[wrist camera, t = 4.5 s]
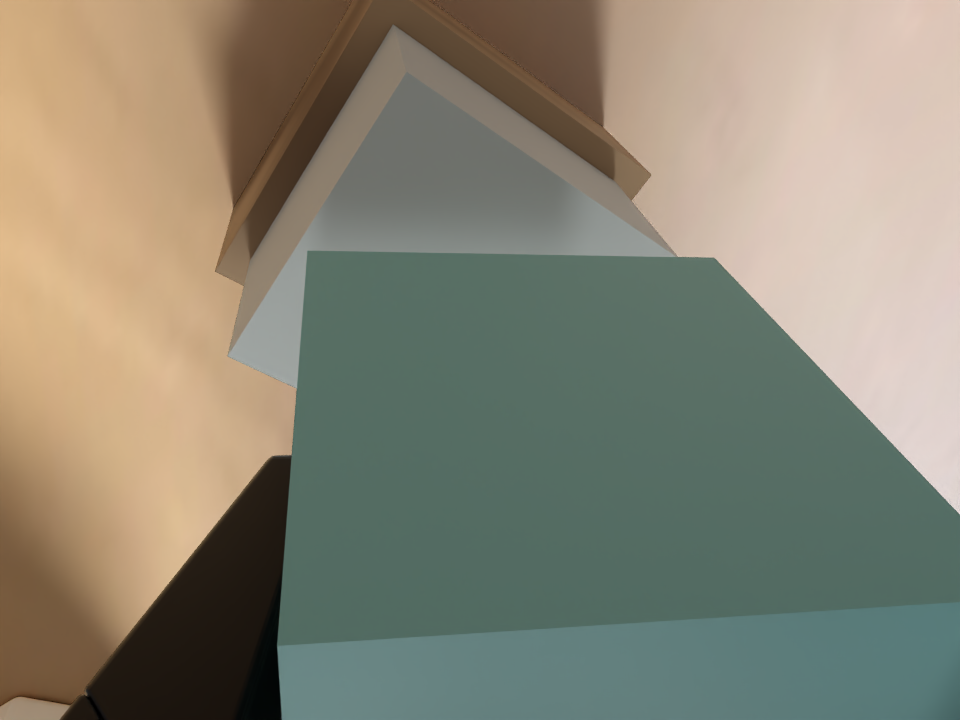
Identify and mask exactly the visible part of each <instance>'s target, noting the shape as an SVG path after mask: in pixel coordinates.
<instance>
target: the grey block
mask: <svg viewBox="0 0 960 720" xmlns="http://www.w3.org/2000/svg"><path fill="white" fill-rule="evenodd" d="M307 251H362V252H418V253H474V254H530V255H587V256H643V257H678V256H677V255H676V254H675V253H674V252H673V250H672V249H671V248H670V247H669V246H668V244H667V243H666V242H665V241H664V240H663V238H662V237H661V236H660V235H659V234H658V232H657V231H656V230H655V229H654V228H653V226H652V225H651V224H650V223H649V222H648V220H647V219H646V218H645V217H644V216H643V214H642V213H641V212H640V211H639V210H638V208H637V207H636V206H635V205H634V203H633V202H632V201H631V200H630V199H629V197H628V196H627V195H626V194H625V193H624V191H623V190H622V189H621V188H620V187H619V185H618V184H617V183H616V182H615V181H613V180H612V179H611V178H609V177H608V176H606V175H605V174H604V173H602V172H601V171H599V170H598V169H596V168H595V167H594V166H592V165H591V164H589V163H588V162H587V161H585V160H584V159H582V158H581V157H580V156H578V155H577V154H575V153H574V152H573V151H571V150H570V149H568V148H567V147H565V146H564V145H563V144H561V143H560V142H558V141H557V140H556V139H554V138H553V137H551V136H550V135H549V134H547V133H546V132H544V131H543V130H541V129H540V128H539V127H537V126H536V125H534V124H533V123H532V122H530V121H529V120H527V119H526V118H525V117H523V116H522V115H520V114H519V113H518V112H516V111H515V110H513V109H512V108H510V107H509V106H508V105H506V104H505V103H503V102H502V101H501V100H499V99H498V98H496V97H495V96H494V95H492V94H491V93H489V92H488V91H486V90H485V89H484V88H482V87H481V86H479V85H478V84H477V83H475V82H474V81H472V80H471V79H470V78H468V77H467V76H465V75H464V74H463V73H461V72H460V71H458V70H457V69H455V68H454V67H453V66H451V65H450V64H448V63H447V62H446V61H444V60H443V59H441V58H440V57H439V56H437V55H436V54H434V53H433V52H431V51H430V50H429V49H427V48H426V47H424V46H423V45H422V44H420V43H419V42H417V41H416V40H415V39H413V38H412V37H410V36H409V35H407V34H406V33H405V32H403V31H402V30H400V29H399V28H398V27H396V26H395V25H392V27H391V29H390V30H389V32H388V34H387V35H386V37H385V39H384V40H383V42H382V44H381V45H380V47H379V49H378V50H377V52H376V53H375V55H374V57H373V58H372V60H371V62H370V63H369V65H368V67H367V68H366V70H365V72H364V73H363V75H362V76H361V78H360V80H359V81H358V83H357V85H356V86H355V88H354V90H353V91H352V93H351V95H350V96H349V98H348V100H347V101H346V103H345V104H344V106H343V108H342V109H341V111H340V113H339V114H338V116H337V118H336V119H335V121H334V123H333V124H332V126H331V127H330V129H329V131H328V132H327V134H326V136H325V137H324V139H323V141H322V142H321V144H320V146H319V147H318V149H317V151H316V152H315V154H314V156H313V157H312V159H311V160H310V162H309V164H308V165H307V167H306V169H305V170H304V172H303V174H302V175H301V177H300V179H299V180H298V182H297V184H296V185H295V187H294V189H293V190H292V192H291V194H290V195H289V197H288V198H287V200H286V202H285V203H284V205H283V207H282V208H281V210H280V212H279V213H278V215H277V217H276V218H275V220H274V222H273V223H272V225H271V227H270V228H269V230H268V231H267V233H266V235H265V236H264V238H263V240H262V241H261V243H260V245H259V246H258V248H257V250H256V251H255V253H254V255H253V256H252V258H251V260H250V263H249V267H248V271H247V276H246V280H245V284H244V288H243V292H242V297H241V301H240V305H239V309H238V314H237V318H236V322H235V326H234V331H233V335H232V339H231V343H230V347H229V352H228V357H230V358H232V359H234V360H236V361H238V362H241V363H243V364H245V365H247V366H249V367H251V368H253V369H256V370H258V371H260V372H262V373H264V374H266V375H268V376H271V377H273V378H275V379H277V380H279V381H281V382H283V383H286V384H288V385H290V386H292V387H294V388H296V389H297V380H298V367H299V354H300V341H301V327H302V314H303V301H304V288H305V275H306V262H307Z"/></svg>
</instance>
